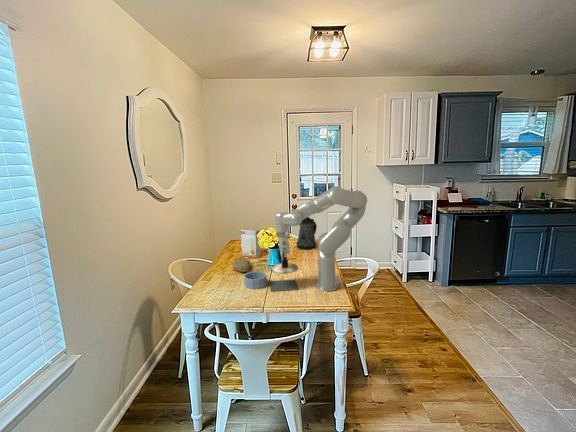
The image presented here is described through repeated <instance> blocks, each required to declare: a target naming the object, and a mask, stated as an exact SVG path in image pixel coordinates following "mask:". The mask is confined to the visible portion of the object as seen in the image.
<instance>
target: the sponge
mask: <svg viewBox="0 0 576 432" xmlns="http://www.w3.org/2000/svg"><path fill="white" fill-rule="evenodd" d="M250 262H251V260H250V258H248V257H245V256H240V257H238V258H236V259H234V261H233V262H232V264H231V265H232V268H233V269H234V270H235V271H237V272H239V273H245V272H246V273H247V271H248V270H250V269H249V268H250Z"/></svg>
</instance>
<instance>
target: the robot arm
mask: <svg viewBox="0 0 576 432" xmlns="http://www.w3.org/2000/svg"><path fill="white" fill-rule="evenodd" d="M367 203H368V197H367V195H366V194H365V193H364V192H363V191H362V190H356V189H355V190H349V189H345V188H342V187H340V186H333V187H331V188H329V189H327V190H325V191H324V192H323V193H321V194H319V195H318V196H317V195H316V197H314V198H312V199H311V200H309V201H308V202H305V203H304V204H302V205H300V206H299V207H298V208H296V209H294V210H293V211H291V212H290V213H288V212H286V211H278V212H276V213H275V216H274V219H275V235H276V236H275V237H276V238H277V239H278V249H279V253H280V260H281V259H282V267H288V263H289V262H288V261H289V259H288V256H289V255H290V254H291V253H290V241H289V238H290V237H291V236H290V235H291V234H290V226H291V227H299V226H300V224H301V222H302V220H303V219H305V218H307V217H310V216H312V215H315V214H319V213H320V214H321V213H322V212H324V211H326V210H327V209H329V208H331V207H332V206H334V205H339V206H342V207H348V208H347V210H346V211H345V213H344V214H343V215H341V216H340V217H339V218H338V219H337V220H336V221H335V222H334V223H333V224H332V227H331V230H329V232H324V233H321V234H320V235H319V237H318V240H317V244H318V245H317V246H318V249H317V251H318V252H317V253H318V254H317V255H318V256H317V257H318V260H317V263H318V264H317V267H318V269H317V272H318V273H317V275H318V276H317V283H315V288H316V289H317V290H319V291H322V292H333V291H334V292H335V291H337V290H338V286H339V285H344V280H340V279H336V251H337V250H338V249H339V248H340V247H341V246H342V245H343V244H344V243H345V242H346V241H347V240H349V238H350V237H351V234H352V229H353V228H354V227H355V226H356V225H357V224H358V223H359V222H360V221H361V219H362V218H363V217H364V215H365V212H366V207H367Z"/></svg>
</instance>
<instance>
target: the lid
mask: <svg viewBox="0 0 576 432" xmlns="http://www.w3.org/2000/svg"><path fill="white" fill-rule="evenodd" d="M298 269H299V267H298V264H295V263H290V262H288V267H282V259H281V258H280V263H277V264H275V265H273V266H272V267H271V272H273V273H275V274H281V275H283V274H286V275H287V274H290V273H295V272H297V271H298Z"/></svg>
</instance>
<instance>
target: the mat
mask: <svg viewBox="0 0 576 432" xmlns="http://www.w3.org/2000/svg"><path fill="white" fill-rule="evenodd" d="M268 284H269V289H270V293H277V292H289V291H290V292H291V291H294V292H295V291H300V288H299V286H298V283H297V281H296V279H281V280H270V281H269V280H268Z"/></svg>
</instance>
